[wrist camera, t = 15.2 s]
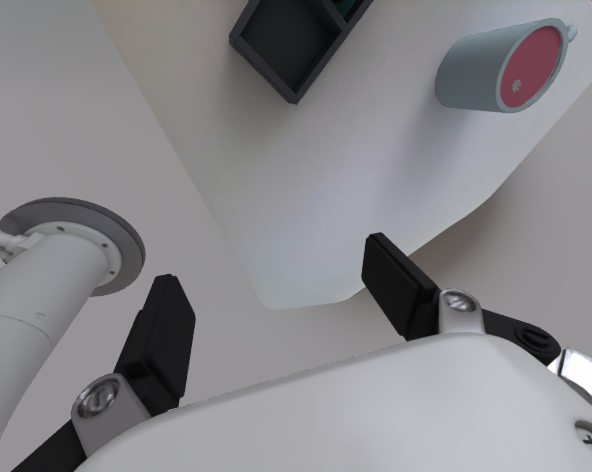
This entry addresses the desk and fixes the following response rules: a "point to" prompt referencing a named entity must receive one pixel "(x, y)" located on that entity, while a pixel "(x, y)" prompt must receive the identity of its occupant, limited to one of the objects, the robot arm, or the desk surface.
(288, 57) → the divided tray
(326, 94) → the desk surface
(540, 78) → the mug
